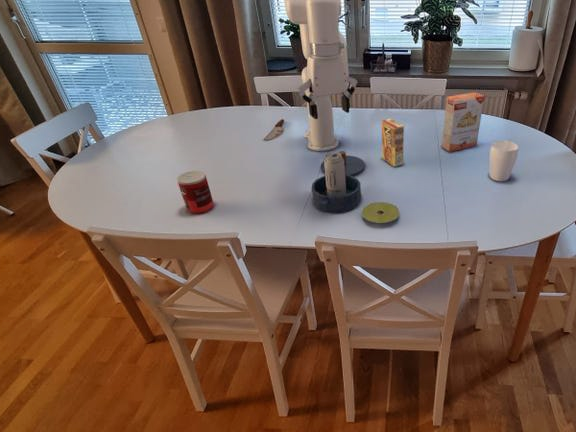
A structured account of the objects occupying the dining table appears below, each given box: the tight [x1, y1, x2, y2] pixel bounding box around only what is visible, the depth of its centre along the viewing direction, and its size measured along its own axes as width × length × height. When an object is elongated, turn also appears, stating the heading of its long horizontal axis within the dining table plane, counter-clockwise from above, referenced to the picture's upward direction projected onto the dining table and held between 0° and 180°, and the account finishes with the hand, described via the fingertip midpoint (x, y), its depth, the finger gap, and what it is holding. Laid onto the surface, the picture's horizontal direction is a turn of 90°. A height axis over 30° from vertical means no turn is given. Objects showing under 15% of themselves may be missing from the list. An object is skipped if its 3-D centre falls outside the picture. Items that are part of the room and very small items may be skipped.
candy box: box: [381, 118, 405, 168], centre depth 145 cm, size 9×4×15 cm, turn 33°
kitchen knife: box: [263, 118, 285, 141], centre depth 174 cm, size 21×2×5 cm
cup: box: [489, 140, 519, 182], centre depth 135 cm, size 9×9×12 cm
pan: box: [310, 172, 362, 214], centre depth 124 cm, size 15×21×6 cm
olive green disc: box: [361, 201, 400, 224], centre depth 117 cm, size 11×11×2 cm
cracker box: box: [441, 91, 485, 153], centre depth 154 cm, size 14×6×21 cm, turn 118°
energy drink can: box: [323, 152, 346, 197], centre depth 121 cm, size 6×6×15 cm
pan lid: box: [320, 150, 366, 176], centre depth 143 cm, size 16×16×6 cm
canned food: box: [176, 170, 214, 215], centre depth 119 cm, size 8×8×11 cm
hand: (330, 114), depth 110 cm, fingers open, 9 cm apart
